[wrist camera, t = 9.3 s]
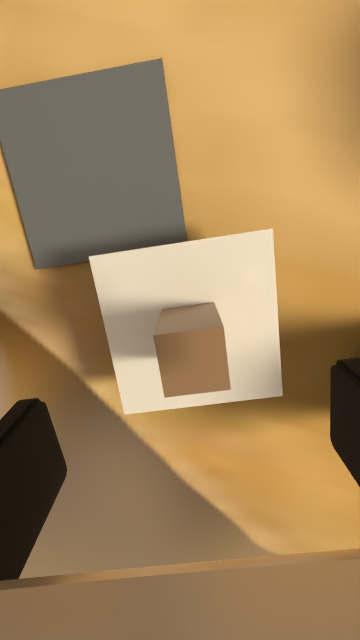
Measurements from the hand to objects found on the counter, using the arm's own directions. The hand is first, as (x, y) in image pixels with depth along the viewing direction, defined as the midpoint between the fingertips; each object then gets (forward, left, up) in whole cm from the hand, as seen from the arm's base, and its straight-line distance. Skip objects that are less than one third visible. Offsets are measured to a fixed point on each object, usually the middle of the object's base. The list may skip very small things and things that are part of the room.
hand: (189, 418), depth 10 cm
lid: (+1, 0, -12) cm, 12 cm away
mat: (-11, -6, -17) cm, 21 cm away
